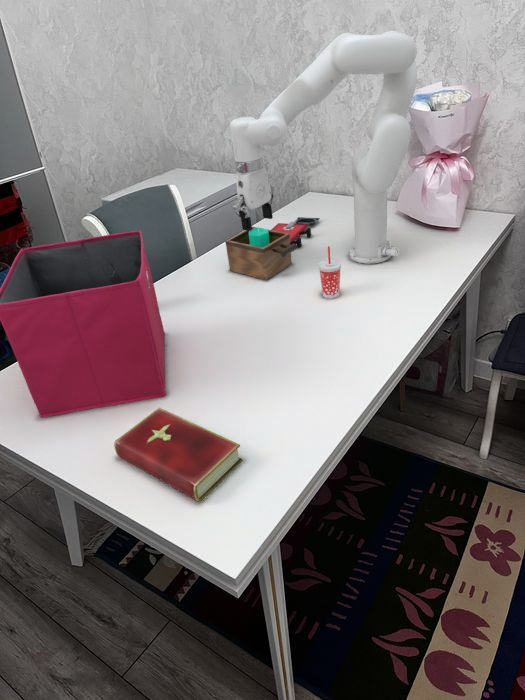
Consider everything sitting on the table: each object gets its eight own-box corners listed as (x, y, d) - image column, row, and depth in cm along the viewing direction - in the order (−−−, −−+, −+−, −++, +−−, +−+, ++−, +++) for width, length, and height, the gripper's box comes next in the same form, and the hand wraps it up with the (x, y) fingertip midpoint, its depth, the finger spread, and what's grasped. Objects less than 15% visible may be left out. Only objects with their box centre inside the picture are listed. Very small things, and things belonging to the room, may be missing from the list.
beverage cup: (321, 289, 155) (318, 242, 148) (343, 289, 154) (341, 241, 146) (318, 299, 150) (315, 251, 143) (341, 299, 149) (339, 251, 141)
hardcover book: (198, 503, 94) (193, 486, 92) (118, 458, 106) (112, 441, 103) (242, 460, 102) (239, 443, 99) (163, 422, 113) (159, 406, 111)
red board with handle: (325, 220, 198) (287, 219, 205) (324, 213, 197) (286, 211, 203) (292, 255, 177) (250, 252, 183) (291, 247, 175) (249, 244, 182)
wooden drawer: (305, 266, 168) (303, 236, 163) (280, 283, 160) (277, 252, 155) (255, 255, 179) (251, 226, 174) (229, 270, 172) (225, 240, 166)
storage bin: (171, 397, 120) (142, 278, 105) (37, 422, 118) (-13, 304, 103) (168, 332, 144) (144, 228, 128) (56, 352, 141) (18, 248, 126)
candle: (251, 261, 174) (247, 224, 167) (270, 258, 174) (266, 221, 168) (253, 269, 169) (248, 231, 162) (272, 266, 169) (268, 228, 163)
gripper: (239, 175, 147) (249, 236, 156) (278, 157, 158) (285, 215, 167) (218, 173, 152) (229, 233, 161) (258, 155, 162) (266, 212, 171)
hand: (257, 224), depth 164 cm, fingers open, 9 cm apart
